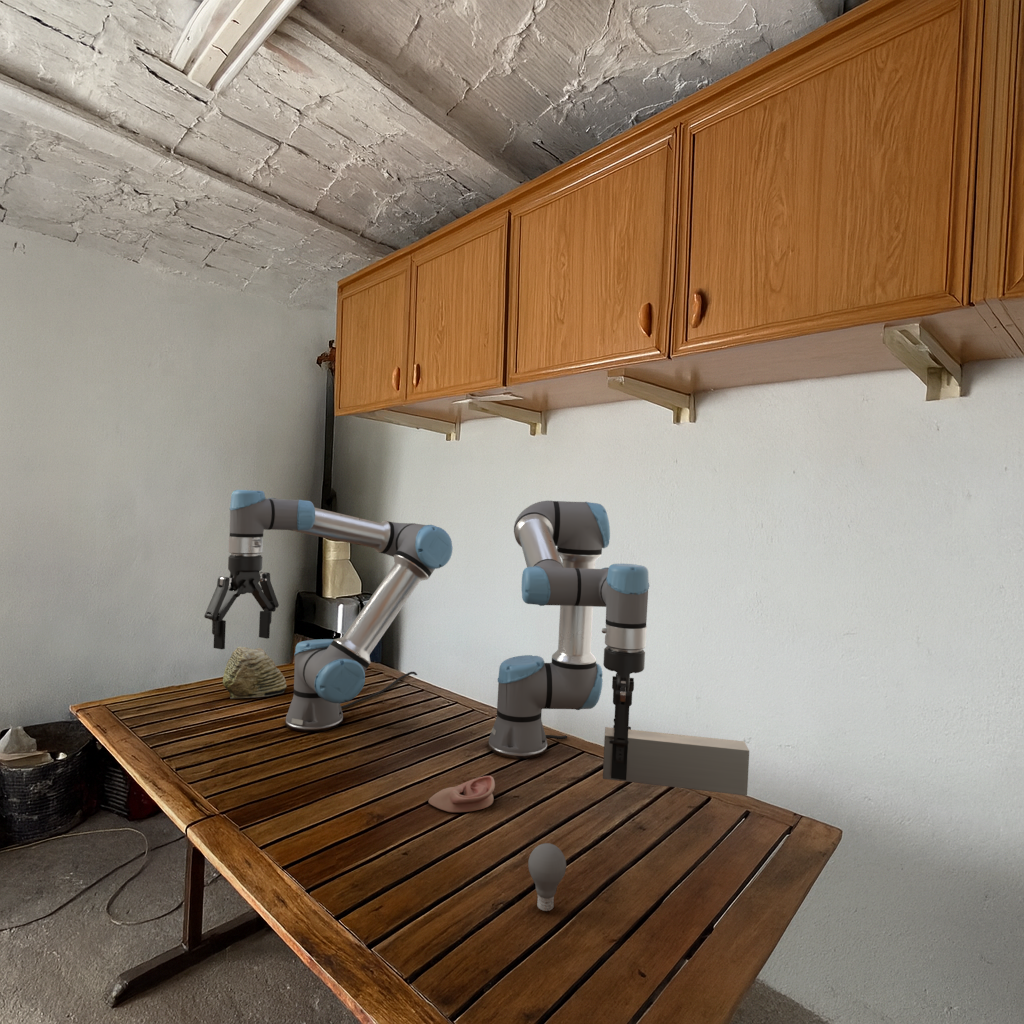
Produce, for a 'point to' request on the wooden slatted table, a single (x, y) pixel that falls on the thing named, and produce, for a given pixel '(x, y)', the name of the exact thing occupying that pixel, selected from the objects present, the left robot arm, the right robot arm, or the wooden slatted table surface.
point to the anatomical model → (465, 796)
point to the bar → (682, 761)
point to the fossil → (252, 674)
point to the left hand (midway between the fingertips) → (242, 643)
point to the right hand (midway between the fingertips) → (618, 772)
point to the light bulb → (546, 873)
